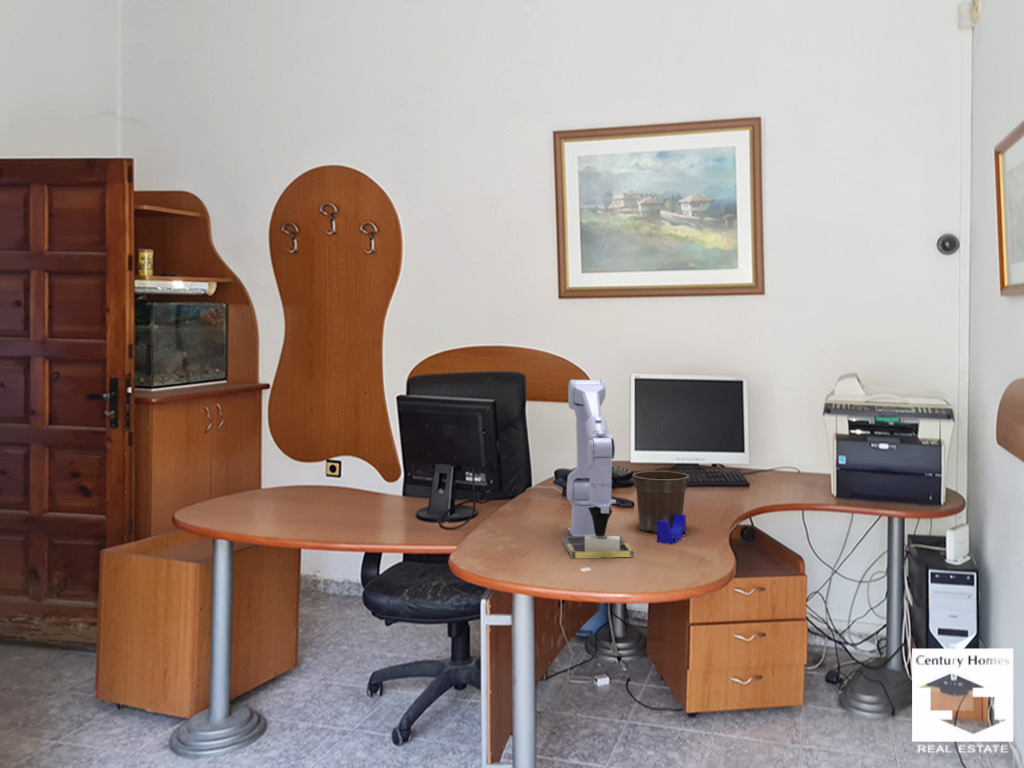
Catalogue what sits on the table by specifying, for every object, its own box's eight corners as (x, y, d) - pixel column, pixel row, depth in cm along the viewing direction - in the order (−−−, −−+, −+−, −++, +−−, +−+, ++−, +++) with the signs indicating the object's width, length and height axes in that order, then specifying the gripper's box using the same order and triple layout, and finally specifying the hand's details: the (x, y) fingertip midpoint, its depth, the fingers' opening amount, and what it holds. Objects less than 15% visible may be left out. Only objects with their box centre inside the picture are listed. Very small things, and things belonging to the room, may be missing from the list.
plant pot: (622, 525, 264) (623, 471, 263) (670, 521, 269) (671, 469, 268) (647, 537, 248) (648, 480, 247) (698, 533, 253) (699, 477, 252)
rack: (562, 542, 242) (562, 535, 242) (620, 541, 243) (620, 535, 243) (571, 558, 225) (571, 551, 225) (633, 557, 226) (633, 550, 226)
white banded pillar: (584, 552, 232) (584, 534, 232) (619, 553, 231) (619, 535, 231) (584, 555, 228) (584, 537, 228) (619, 556, 228) (619, 538, 227)
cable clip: (671, 545, 240) (672, 523, 240) (656, 542, 243) (657, 521, 243) (690, 536, 250) (690, 515, 250) (675, 534, 253) (676, 513, 252)
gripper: (621, 488, 222) (620, 541, 223) (610, 478, 236) (609, 528, 237) (593, 488, 221) (592, 542, 222) (584, 478, 236) (583, 529, 236)
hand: (599, 535), depth 229 cm, fingers closed
